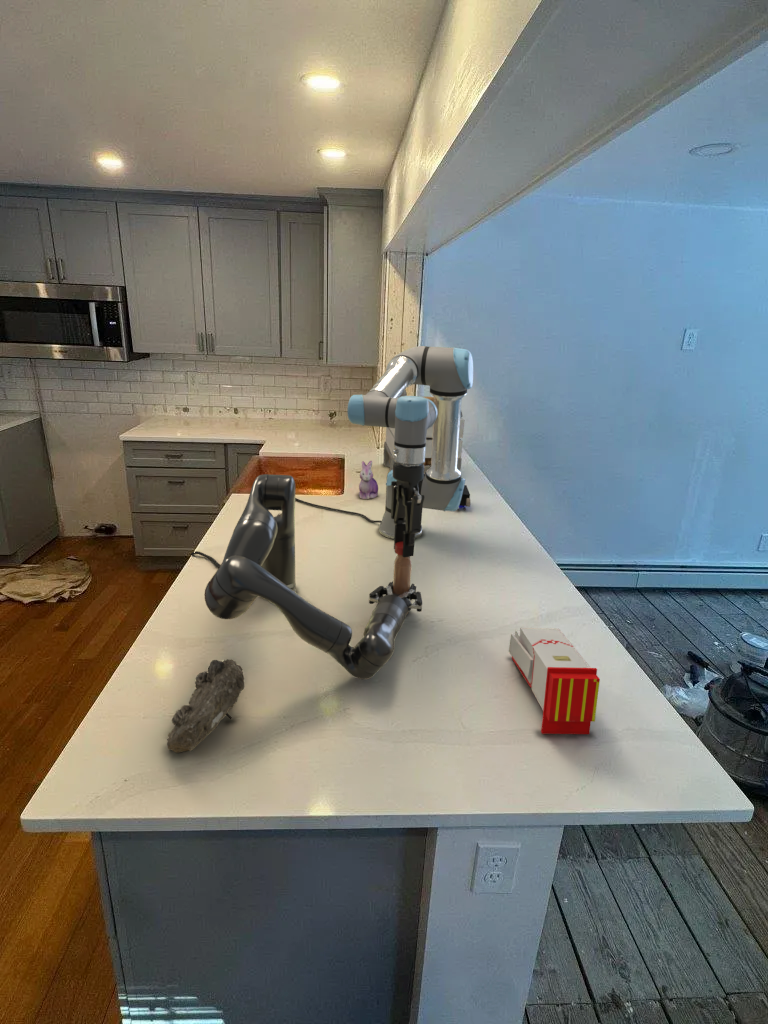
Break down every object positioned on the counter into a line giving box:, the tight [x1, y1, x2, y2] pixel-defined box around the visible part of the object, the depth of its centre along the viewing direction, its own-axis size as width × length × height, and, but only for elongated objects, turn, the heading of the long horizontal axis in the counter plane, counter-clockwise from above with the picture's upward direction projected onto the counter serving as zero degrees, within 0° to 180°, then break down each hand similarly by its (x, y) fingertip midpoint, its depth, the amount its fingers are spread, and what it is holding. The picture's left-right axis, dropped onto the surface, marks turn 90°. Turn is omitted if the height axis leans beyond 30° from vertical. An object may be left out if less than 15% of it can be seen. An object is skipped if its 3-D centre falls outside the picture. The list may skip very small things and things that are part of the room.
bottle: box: [392, 554, 413, 615], centre depth 146 cm, size 4×4×18 cm
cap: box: [394, 542, 403, 555], centre depth 143 cm, size 4×4×2 cm
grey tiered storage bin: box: [383, 389, 465, 473], centre depth 268 cm, size 34×33×41 cm
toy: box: [508, 627, 601, 735], centre depth 119 cm, size 12×13×30 cm
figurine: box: [358, 460, 379, 500], centre depth 236 cm, size 9×10×15 cm
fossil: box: [166, 658, 245, 754], centre depth 106 cm, size 22×10×15 cm
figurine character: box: [456, 484, 471, 512], centre depth 229 cm, size 7×8×15 cm
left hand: (403, 585), depth 149 cm, fingers closed on bottle, 4 cm apart
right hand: (403, 552), depth 143 cm, fingers closed on cap, 4 cm apart
